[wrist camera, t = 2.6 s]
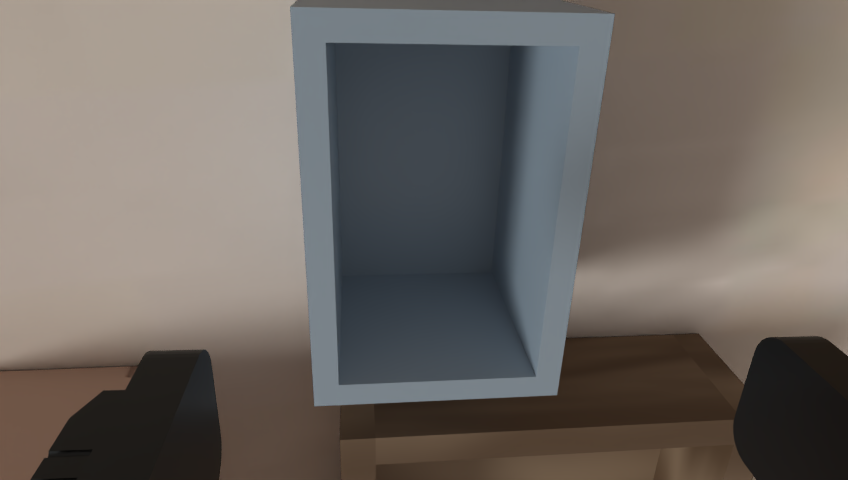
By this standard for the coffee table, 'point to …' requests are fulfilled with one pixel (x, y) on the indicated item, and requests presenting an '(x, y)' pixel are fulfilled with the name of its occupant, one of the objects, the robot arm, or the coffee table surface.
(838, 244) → the coffee table surface
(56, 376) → the terracotta crate
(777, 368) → the robot arm
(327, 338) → the blue-grey hollow box
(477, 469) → the walnut crate
